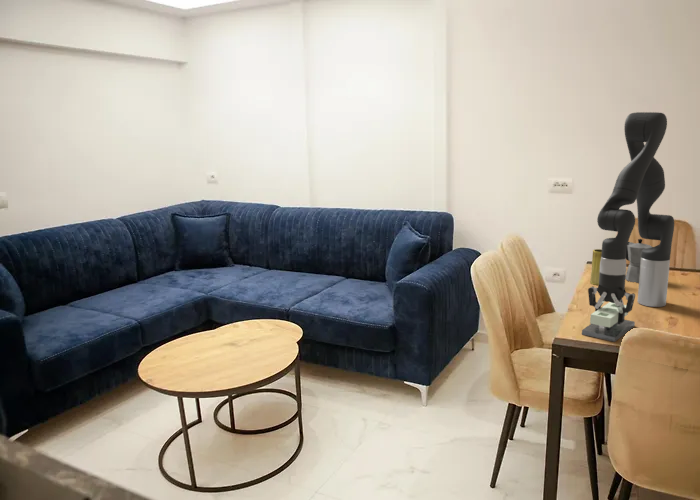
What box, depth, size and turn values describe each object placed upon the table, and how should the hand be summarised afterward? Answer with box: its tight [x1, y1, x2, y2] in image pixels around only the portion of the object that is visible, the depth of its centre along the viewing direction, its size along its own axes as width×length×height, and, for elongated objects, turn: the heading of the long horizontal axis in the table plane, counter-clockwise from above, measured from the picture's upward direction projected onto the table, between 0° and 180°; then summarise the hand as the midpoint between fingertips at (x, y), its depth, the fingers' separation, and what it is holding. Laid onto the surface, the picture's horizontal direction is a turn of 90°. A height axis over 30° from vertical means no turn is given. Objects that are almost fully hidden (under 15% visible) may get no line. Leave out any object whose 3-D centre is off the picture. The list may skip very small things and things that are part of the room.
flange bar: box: [589, 302, 629, 328], centre depth 171 cm, size 16×6×3 cm, turn 135°
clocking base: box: [581, 311, 636, 343], centre depth 172 cm, size 18×10×6 cm, turn 135°
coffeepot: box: [625, 238, 653, 284], centre depth 226 cm, size 15×9×18 cm, turn 13°
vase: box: [589, 248, 602, 286], centre depth 223 cm, size 6×6×14 cm
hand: (609, 321), depth 172 cm, fingers closed on flange bar, 6 cm apart
